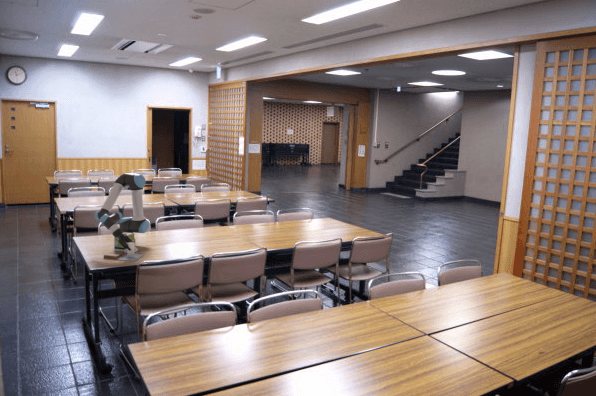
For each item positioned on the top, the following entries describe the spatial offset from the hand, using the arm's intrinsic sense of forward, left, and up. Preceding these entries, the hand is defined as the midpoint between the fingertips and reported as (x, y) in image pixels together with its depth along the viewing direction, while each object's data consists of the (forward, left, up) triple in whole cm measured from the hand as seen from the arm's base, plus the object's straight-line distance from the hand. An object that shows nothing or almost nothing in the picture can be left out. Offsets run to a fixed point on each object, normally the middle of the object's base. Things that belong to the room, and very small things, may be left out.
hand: (135, 251), depth 374 cm
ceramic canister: (0, -4, -3) cm, 5 cm away
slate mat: (0, -4, -5) cm, 6 cm away
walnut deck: (0, -18, -5) cm, 18 cm away
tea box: (-17, -18, -5) cm, 25 cm away
